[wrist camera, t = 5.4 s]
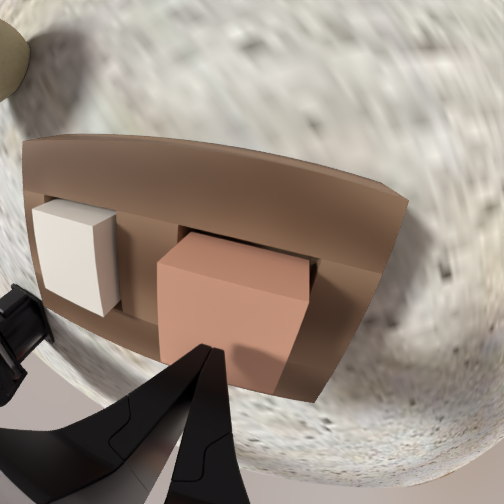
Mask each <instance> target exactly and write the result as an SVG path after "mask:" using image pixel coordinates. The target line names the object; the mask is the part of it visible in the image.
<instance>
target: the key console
mask: <svg viewBox="0 0 504 504" xmlns="http://www.w3.org/2000/svg"><path fill="white" fill-rule="evenodd" d="M22 176H23V196H24V208H25V217H26V225H27V232H28V239H29V245H30V250H31V256H32V261H33V265H34V270H35V274H36V279H37V283H38V287H39V290H40V294H41V298H42V301H43V304H44V306H45V307H47V308H49V309H50V310H52V311H54V312H55V313H57V314H59V315H61V316H62V317H64V318H66V319H68V320H69V321H71V322H73V323H75V324H77V325H79V326H81V327H83V328H84V329H86V330H88V331H90V332H92V333H94V334H96V335H98V336H100V337H102V338H105V339H107V340H109V341H111V342H113V343H115V344H117V345H120V346H122V347H124V348H126V349H129V350H131V351H133V352H136V353H138V354H141V355H143V356H145V357H148V358H150V359H153V360H156V361H158V362H161V359H160V346H159V329H158V305H157V262H158V261H159V260H160V259H161V258H162V257H163V256H165V255H166V254H167V253H168V252H169V251H170V250H171V249H172V248H173V247H174V246H176V245H177V244H178V243H179V242H180V241H181V240H182V239H183V238H185V237H186V236H187V235H188V234H189V233H190V232H195V233H199V234H203V235H207V236H211V237H215V238H220V239H224V240H228V241H232V242H236V243H240V244H245V245H249V246H253V247H257V248H261V249H265V250H269V251H274V252H278V253H282V254H286V255H290V256H294V257H298V258H302V259H306V260H309V304H308V307H307V310H306V312H305V315H304V318H303V320H302V323H301V326H300V329H299V331H298V334H297V336H296V339H295V342H294V344H293V347H292V349H291V352H290V354H289V357H288V359H287V362H286V364H285V367H284V369H283V371H282V374H281V376H280V379H279V381H278V383H277V386H276V388H275V390H274V392H273V396H278V397H283V398H288V399H293V400H298V401H304V402H310V403H315V401H316V399H317V398H318V396H319V395H320V393H321V392H322V390H323V388H324V387H325V385H326V384H327V382H328V380H329V379H330V377H331V375H332V374H333V372H334V370H335V369H336V367H337V365H338V363H339V362H340V360H341V358H342V356H343V354H344V353H345V351H346V349H347V347H348V345H349V343H350V342H351V340H352V338H353V336H354V334H355V332H356V330H357V328H358V326H359V324H360V322H361V320H362V318H363V316H364V314H365V312H366V310H367V308H368V306H369V303H370V301H371V299H372V297H373V295H374V292H375V290H376V288H377V286H378V283H379V281H380V279H381V276H382V274H383V272H384V269H385V267H386V264H387V262H388V259H389V257H390V254H391V251H392V249H393V246H394V243H395V241H396V238H397V235H398V232H399V229H400V227H401V224H402V221H403V218H404V215H405V211H406V208H407V205H408V202H409V200H407V199H406V198H404V197H403V196H401V195H400V194H398V193H397V192H395V191H394V190H392V189H390V188H389V187H387V186H386V185H384V184H382V183H380V182H377V181H374V180H371V179H368V178H365V177H361V176H358V175H355V174H351V173H348V172H344V171H341V170H337V169H334V168H330V167H326V166H322V165H319V164H315V163H311V162H306V161H302V160H298V159H294V158H289V157H285V156H280V155H275V154H271V153H266V152H260V151H255V150H250V149H244V148H239V147H233V146H226V145H220V144H213V143H206V142H198V141H190V140H182V139H172V138H162V137H150V136H135V135H115V134H64V135H56V136H50V137H43V138H38V139H32V140H27V141H23V147H22ZM57 198H62V199H67V200H72V201H76V202H81V203H85V204H90V205H94V206H99V207H103V208H108V209H112V210H116V226H117V253H118V268H119V281H120V291H121V300H120V301H119V302H118V303H117V304H116V305H115V306H114V307H113V308H112V309H111V310H110V311H109V312H108V313H107V314H106V315H105V316H104V317H102V316H100V315H98V314H96V313H94V312H91V311H89V310H87V309H85V308H83V307H81V306H79V305H77V304H75V303H73V302H71V301H69V300H67V299H65V298H63V297H61V296H59V295H57V294H56V293H54V292H52V291H50V290H48V289H46V288H45V284H44V280H43V276H42V271H41V266H40V262H39V256H38V251H37V245H36V239H35V232H34V224H33V215H32V209H33V208H35V207H38V206H40V205H42V204H45V203H47V202H50V201H52V200H55V199H57ZM161 363H163V362H161ZM163 364H166V363H163ZM166 365H169V364H166ZM169 366H170V365H169ZM227 384H228V383H227ZM228 385H231V384H228ZM232 386H235V385H232ZM235 387H239V386H235ZM239 388H243V387H239ZM243 389H247V388H243ZM247 390H251V389H247ZM251 391H255V390H251ZM255 392H259V391H255ZM259 393H263V392H259ZM264 394H268V393H264ZM268 395H272V394H268Z"/></svg>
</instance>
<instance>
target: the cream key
mask: <svg viewBox="0 0 504 504" xmlns="http://www.w3.org/2000/svg"><path fill="white" fill-rule="evenodd" d="M32 215H33V224H34V232H35V239H36V245H37V251H38V256H39V262H40V266H41V271H42V276H43V280H44V284H45V288H46V289H48V290H50V291H52V292H54V293H56V294H57V295H59V296H61V297H63V298H65V299H67V300H69V301H71V302H73V303H75V304H77V305H79V306H81V307H83V308H85V309H87V310H89V311H91V312H94V313H96V314H98V315H100V316H102V317H104V316H105V315H106V314H107V313H108V312H109V311H110V310H111V309H112V308H113V307H114V306H115V305H116V304H117V303H118V302H119V301H120V300H121V291H120V281H119V268H118V253H117V226H116V210H112V209H108V208H103V207H99V206H94V205H90V204H85V203H81V202H76V201H72V200H67V199H62V198H57V199H55V200H52V201H50V202H47V203H45V204H42V205H40V206H38V207H35V208H33V209H32Z"/></svg>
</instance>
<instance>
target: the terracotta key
mask: <svg viewBox="0 0 504 504" xmlns="http://www.w3.org/2000/svg"><path fill="white" fill-rule="evenodd" d="M308 304H309V260H306V259H302V258H298V257H294V256H290V255H286V254H282V253H278V252H274V251H269V250H265V249H261V248H257V247H253V246H249V245H245V244H240V243H236V242H232V241H228V240H224V239H220V238H215V237H211V236H207V235H203V234H199V233H195V232H190V233H189V234H188V235H187V236H186V237H185V238H183V239H182V240H181V241H180V242H179V243H178V244H177V245H176V246H174V247H173V248H172V249H171V250H170V251H169V252H168V253H167V254H166V255H165V256H163V257H162V258H161V259H160V260H159V261H158V262H157V305H158V329H159V346H160V359H161V362H163V363H166V364H169V365H171V364H173V363H174V362H175V361H177V360H178V359H180V358H181V357H182V356H184V355H185V354H187V353H188V352H189V351H191V350H192V349H193V348H195V347H196V346H198V345H199V344H201V343H203V344H206V345H209V346H211V347H212V348H213V347H216V348H220V349H223V350H224V351H225V361H226V373H227V383H228V384H231V385H235V386H239V387H243V388H247V389H251V390H255V391H259V392H263V393H268V394H272V395H273V392H274V390H275V388H276V386H277V383H278V381H279V379H280V376H281V374H282V371H283V369H284V367H285V364H286V362H287V359H288V357H289V354H290V352H291V349H292V347H293V344H294V342H295V339H296V336H297V334H298V331H299V329H300V326H301V323H302V320H303V318H304V315H305V312H306V310H307V307H308Z"/></svg>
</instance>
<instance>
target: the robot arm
mask: <svg viewBox="0 0 504 504" xmlns="http://www.w3.org/2000/svg"><path fill="white" fill-rule="evenodd" d="M11 288H12V290H11V291H10V292H8V293H7V294H6V295H4V296H3V297H2V298H0V407H2V406H4V405H6V404H7V403H8V402H9V401H10V400H11V399H12V397H13V395H14V394H15V392H16V391H17V389H18V388H19V386H20V384H21V383H22V381H23V380H24V378H25V377H26V375H27V371H26V370H25V369H24V368H23V367H22V366H21V364H20V363H21V362H22V361H23V360H24V359H25V358H26V357H27V356H28V355H29V354H30V353H31V352H32V351H33V350H34V349H35V348H36V347H37V346H38V345H39V344H40V343H41V342H42V341H43V340H44V339H45V340H46V341H48V342H49V343H51V344H53V343H54V339H53V336H52V334H51V331H50V328H49V325H48V322H47V320H46V317H45V313H44V310H43V307H42V304H41V302H40V301H39V300H38V299H37V298H35V297H34V296H32V295H31V294H29V293H27V292H26V291H24V290H23V289H21V288H20V287H18V286H17V285H15V284H14V283H13V284H12V285H11ZM183 429H184V432H183V436H182V439H181V443H180V447H179V451H178V455H177V459H176V463H175V467H174V471H173V474H172V478H171V483H170V486H169V490H168V493H167V497H166V499H165V502H164V504H250V502H249V498H248V495H247V492H246V489H245V486H244V483H243V480H242V477H241V474H240V470H239V466H238V462H237V459H236V453H235V447H234V440H233V433H232V424H231V414H230V405H229V395H228V384H227V373H226V361H225V351H224V350H223V349H220V348H216V347H213V348H212V347H211V346H209V345H206V344H203V343H201V344H199V345H198V346H196V347H195V348H193V349H192V350H191V351H189V352H188V353H187V354H185V355H184V356H182V357H181V358H180V359H178V360H177V361H175V362H174V363H173V364H171V365H170V366H168V367H167V368H166V369H164V370H163V371H161V372H160V373H158V374H157V375H155V376H154V377H153V378H151V379H150V380H148V381H147V382H145V383H144V384H142V385H141V386H139V387H138V388H137V389H135V390H134V391H132V392H131V393H129V394H128V395H126V396H124V397H123V398H121V399H120V400H118V401H117V402H115V403H114V404H112V405H110V406H109V407H107V408H105V409H103V410H101V411H99V412H97V413H95V414H93V415H91V416H89V417H87V418H85V419H82V420H80V421H78V422H75V423H73V424H71V425H68V426H66V427H64V428H61V429H57V430H52V431H32V430H17V429H6V428H0V504H144V503H145V501H146V499H147V497H148V495H149V493H150V491H151V490H152V488H153V486H154V484H155V482H156V480H157V478H158V477H159V475H160V473H161V471H162V469H163V467H164V466H165V464H166V462H167V460H168V458H169V456H170V454H171V452H172V450H173V448H174V447H175V445H176V443H177V441H178V439H179V437H180V435H181V433H182V431H183Z"/></svg>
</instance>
